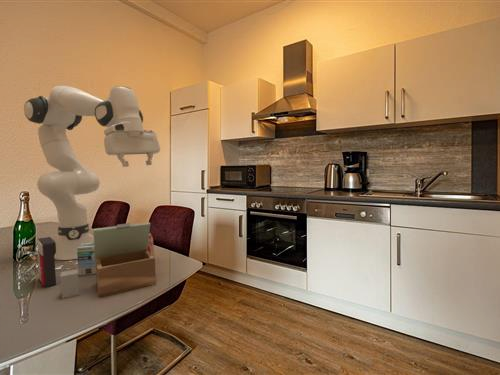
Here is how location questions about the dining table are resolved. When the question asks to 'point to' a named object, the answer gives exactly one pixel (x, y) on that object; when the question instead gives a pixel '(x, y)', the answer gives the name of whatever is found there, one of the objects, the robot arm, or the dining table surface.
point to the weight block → (69, 283)
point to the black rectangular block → (46, 261)
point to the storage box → (125, 272)
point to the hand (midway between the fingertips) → (138, 165)
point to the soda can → (150, 245)
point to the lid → (121, 239)
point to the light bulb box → (86, 259)
